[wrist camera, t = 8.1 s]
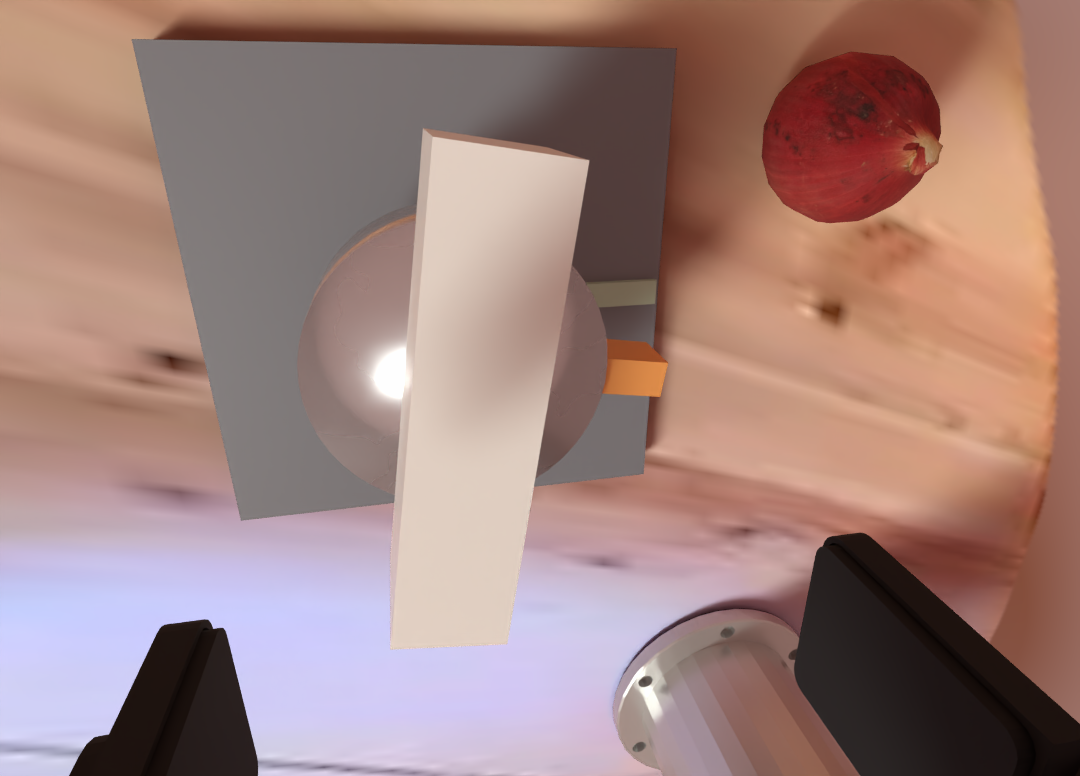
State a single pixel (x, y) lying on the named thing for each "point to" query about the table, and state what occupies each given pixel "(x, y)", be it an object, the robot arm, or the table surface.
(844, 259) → the table surface
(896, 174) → the onion
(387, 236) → the cap
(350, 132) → the base
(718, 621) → the robot arm
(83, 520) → the table surface
